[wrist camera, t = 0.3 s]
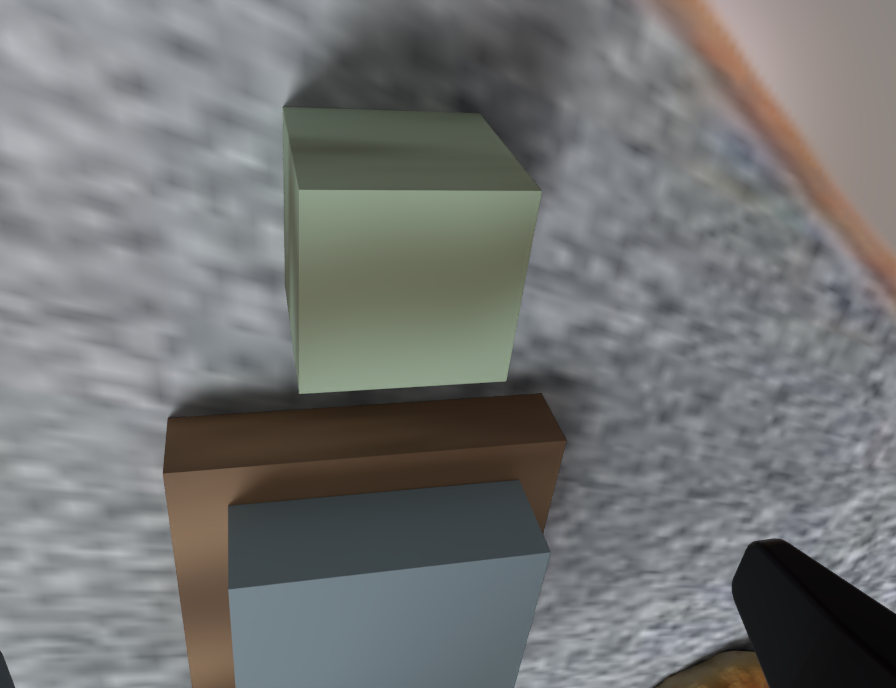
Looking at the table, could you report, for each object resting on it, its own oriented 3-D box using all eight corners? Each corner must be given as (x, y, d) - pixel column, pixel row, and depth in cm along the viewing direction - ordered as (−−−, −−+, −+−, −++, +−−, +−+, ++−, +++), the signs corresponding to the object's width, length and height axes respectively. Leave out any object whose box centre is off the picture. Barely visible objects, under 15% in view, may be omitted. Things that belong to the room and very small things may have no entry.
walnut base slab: (488, 603, 33) (509, 665, 31) (198, 643, 30) (196, 715, 28) (536, 383, 27) (566, 440, 24) (169, 405, 24) (162, 473, 21)
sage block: (456, 278, 23) (506, 381, 19) (284, 283, 22) (299, 393, 18) (478, 112, 20) (542, 190, 16) (282, 106, 19) (299, 189, 15)
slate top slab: (481, 650, 30) (504, 724, 27) (240, 685, 27) (241, 769, 25) (519, 479, 25) (550, 552, 22) (227, 505, 22) (228, 589, 20)
